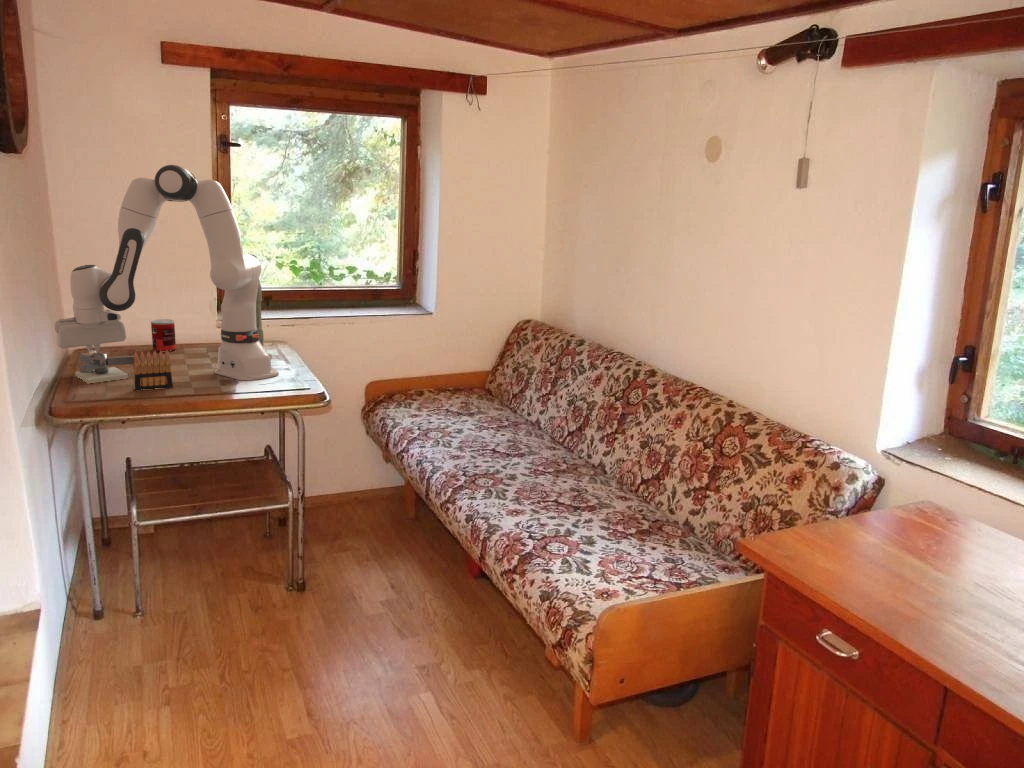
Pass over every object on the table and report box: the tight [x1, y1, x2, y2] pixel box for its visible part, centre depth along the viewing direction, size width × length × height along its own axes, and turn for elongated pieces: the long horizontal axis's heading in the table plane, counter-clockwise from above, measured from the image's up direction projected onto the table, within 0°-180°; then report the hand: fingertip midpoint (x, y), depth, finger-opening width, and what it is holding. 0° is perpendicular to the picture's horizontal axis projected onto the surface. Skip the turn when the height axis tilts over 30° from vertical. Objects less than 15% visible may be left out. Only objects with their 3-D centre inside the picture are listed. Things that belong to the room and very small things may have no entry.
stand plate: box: [75, 366, 129, 384], centre depth 260 cm, size 12×12×2 cm
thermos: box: [248, 253, 265, 347], centre depth 309 cm, size 9×12×35 cm
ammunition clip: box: [133, 350, 174, 391], centre depth 249 cm, size 11×2×12 cm, turn 118°
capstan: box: [79, 349, 134, 374], centre depth 260 cm, size 16×18×7 cm
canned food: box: [150, 318, 177, 352], centre depth 300 cm, size 8×8×11 cm
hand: (94, 357), depth 264 cm, fingers closed
